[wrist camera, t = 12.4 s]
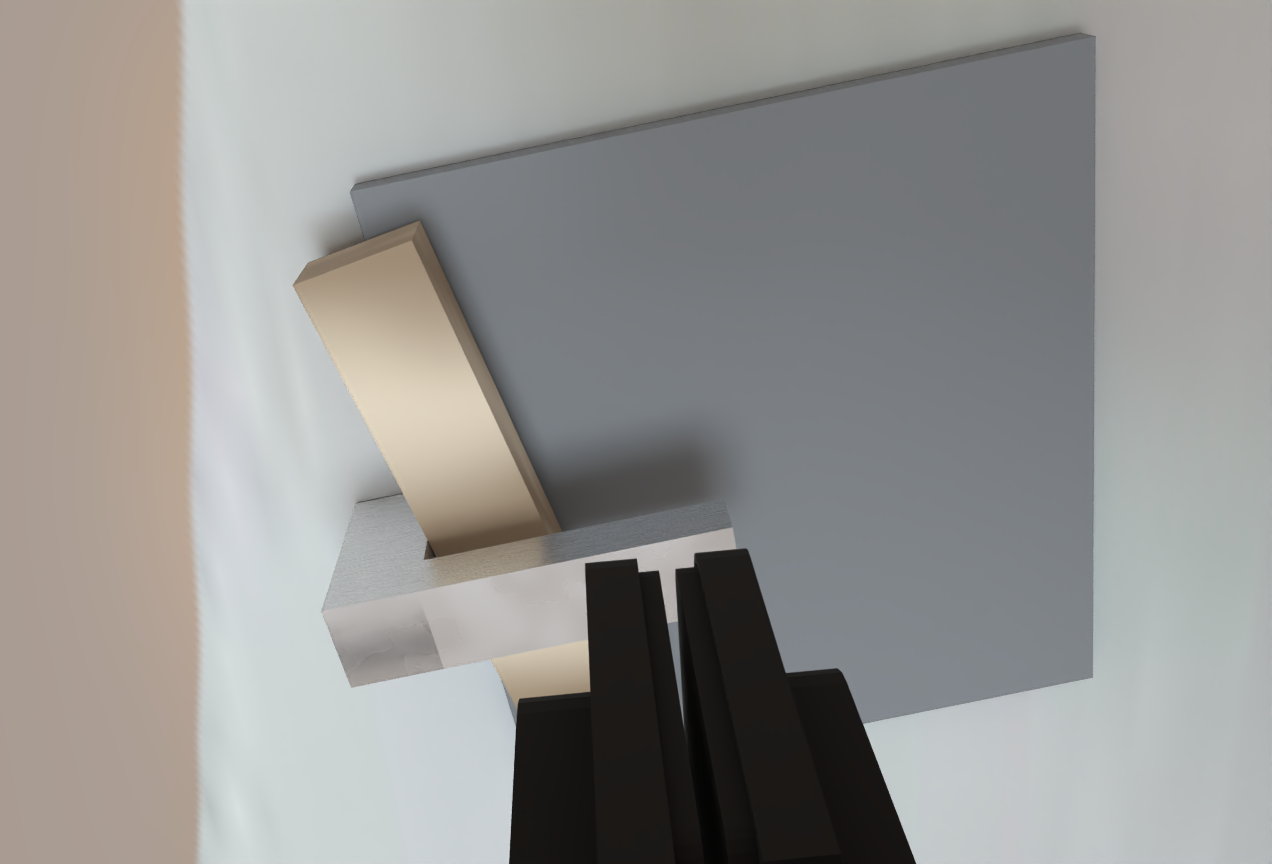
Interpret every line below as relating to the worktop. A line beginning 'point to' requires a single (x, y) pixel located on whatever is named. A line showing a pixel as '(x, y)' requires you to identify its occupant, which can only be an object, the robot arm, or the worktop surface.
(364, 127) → the worktop surface
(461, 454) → the link
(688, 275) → the base plate
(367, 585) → the keeper
